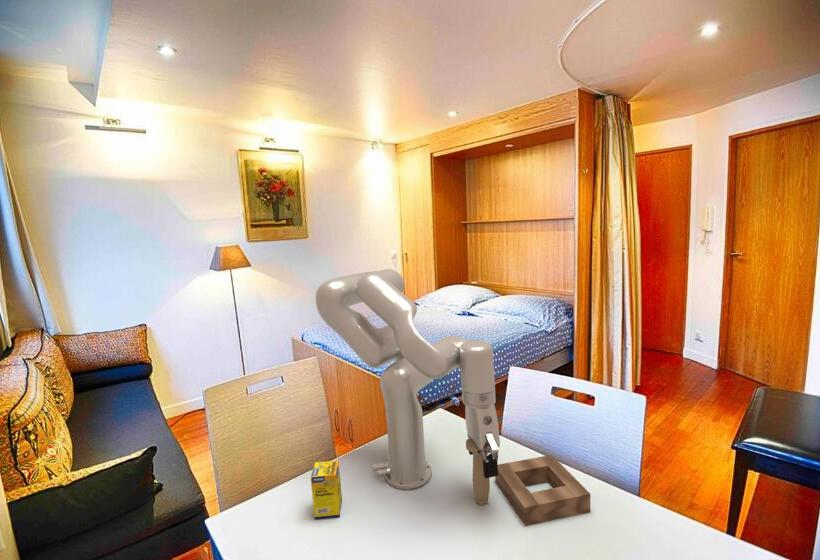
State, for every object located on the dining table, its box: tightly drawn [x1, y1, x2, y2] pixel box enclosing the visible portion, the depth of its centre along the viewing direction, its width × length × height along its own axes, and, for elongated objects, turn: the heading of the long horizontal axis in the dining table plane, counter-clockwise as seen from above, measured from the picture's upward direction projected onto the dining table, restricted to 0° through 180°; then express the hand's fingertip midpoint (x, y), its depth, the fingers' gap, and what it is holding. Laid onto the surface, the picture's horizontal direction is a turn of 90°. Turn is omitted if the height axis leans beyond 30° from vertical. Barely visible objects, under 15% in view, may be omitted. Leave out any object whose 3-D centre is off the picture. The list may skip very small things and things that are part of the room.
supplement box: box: [310, 460, 343, 521], centre depth 96 cm, size 6×6×11 cm
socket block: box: [494, 454, 591, 527], centre depth 97 cm, size 16×16×4 cm
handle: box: [465, 438, 491, 506], centre depth 96 cm, size 5×6×15 cm
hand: (482, 464), depth 95 cm, fingers open, 9 cm apart
